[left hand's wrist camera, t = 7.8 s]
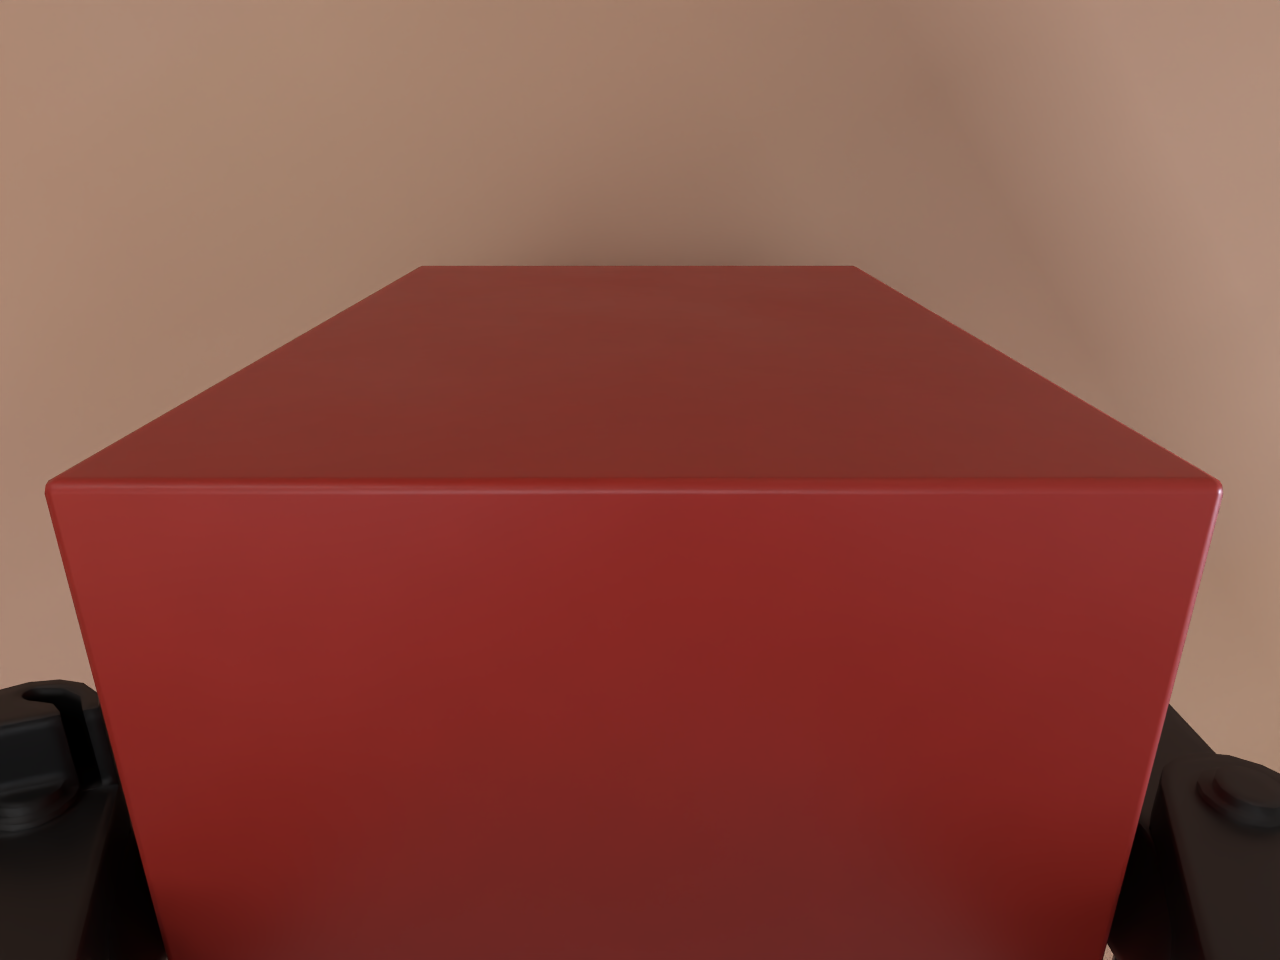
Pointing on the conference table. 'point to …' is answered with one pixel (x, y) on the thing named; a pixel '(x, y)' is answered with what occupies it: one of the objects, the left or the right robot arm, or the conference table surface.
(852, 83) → the conference table surface
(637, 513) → the brick
